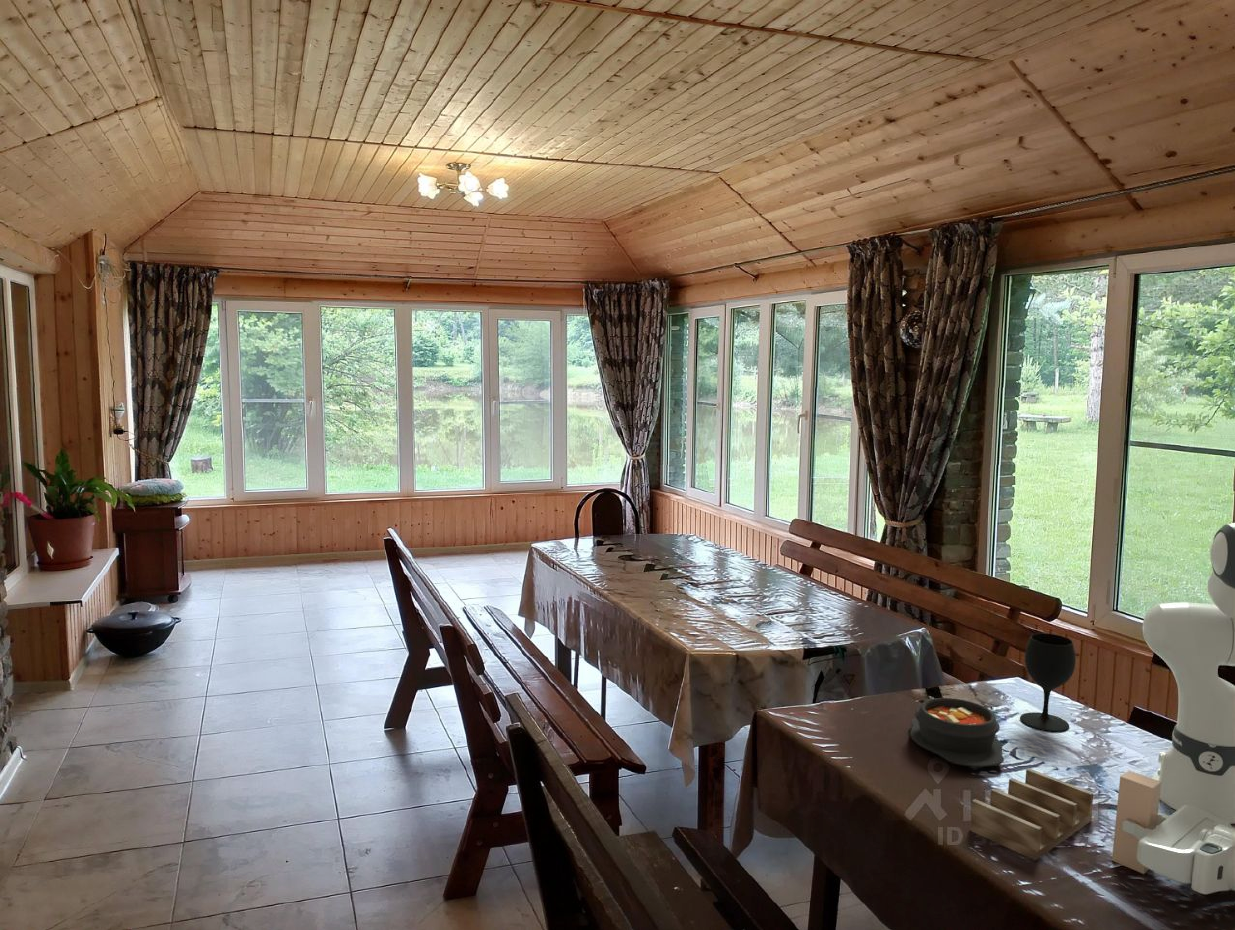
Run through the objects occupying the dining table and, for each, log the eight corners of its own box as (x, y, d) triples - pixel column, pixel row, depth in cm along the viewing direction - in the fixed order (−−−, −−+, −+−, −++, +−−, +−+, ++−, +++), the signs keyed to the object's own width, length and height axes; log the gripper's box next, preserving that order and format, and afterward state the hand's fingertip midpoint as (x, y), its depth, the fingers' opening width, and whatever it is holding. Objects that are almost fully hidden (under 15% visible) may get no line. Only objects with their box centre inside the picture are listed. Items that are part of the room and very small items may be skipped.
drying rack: (1091, 820, 165) (1094, 792, 165) (1035, 860, 152) (1038, 829, 151) (1027, 794, 175) (1029, 767, 174) (969, 830, 161) (971, 801, 161)
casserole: (1026, 775, 183) (1029, 735, 182) (936, 776, 182) (939, 736, 181) (971, 723, 208) (973, 688, 206) (891, 724, 206) (893, 688, 205)
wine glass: (1055, 713, 214) (1062, 632, 211) (1078, 732, 203) (1086, 647, 201) (1011, 713, 213) (1018, 631, 211) (1033, 732, 203) (1040, 646, 200)
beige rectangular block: (1152, 866, 151) (1161, 781, 149) (1143, 874, 149) (1152, 787, 147) (1120, 853, 155) (1129, 770, 153) (1111, 860, 153) (1120, 776, 151)
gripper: (1250, 816, 147) (1157, 783, 158) (1203, 859, 134) (1106, 820, 145) (1245, 852, 148) (1153, 817, 158) (1199, 899, 135) (1102, 857, 146)
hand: (1130, 819), depth 151 cm, fingers closed on beige rectangular block, 3 cm apart
